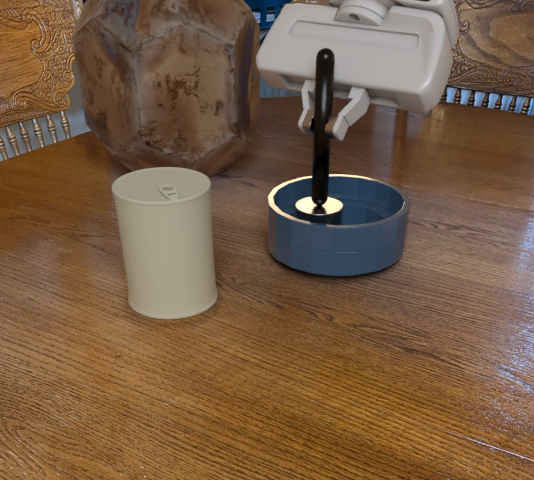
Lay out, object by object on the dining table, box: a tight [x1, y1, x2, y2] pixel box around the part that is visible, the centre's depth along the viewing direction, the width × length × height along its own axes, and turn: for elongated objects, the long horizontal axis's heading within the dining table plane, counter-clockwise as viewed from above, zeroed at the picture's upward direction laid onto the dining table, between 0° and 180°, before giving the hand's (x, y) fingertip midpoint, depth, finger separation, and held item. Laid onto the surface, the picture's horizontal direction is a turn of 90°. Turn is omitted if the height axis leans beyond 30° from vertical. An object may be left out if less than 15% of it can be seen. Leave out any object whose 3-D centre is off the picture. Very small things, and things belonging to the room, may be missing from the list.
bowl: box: [266, 173, 411, 277], centre depth 78 cm, size 15×15×6 cm
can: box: [111, 167, 219, 320], centre depth 68 cm, size 9×9×12 cm
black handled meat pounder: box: [295, 48, 343, 225], centre depth 72 cm, size 5×5×18 cm
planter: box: [71, 0, 261, 178], centre depth 93 cm, size 22×24×24 cm
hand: (319, 134), depth 70 cm, fingers closed on black handled meat pounder
